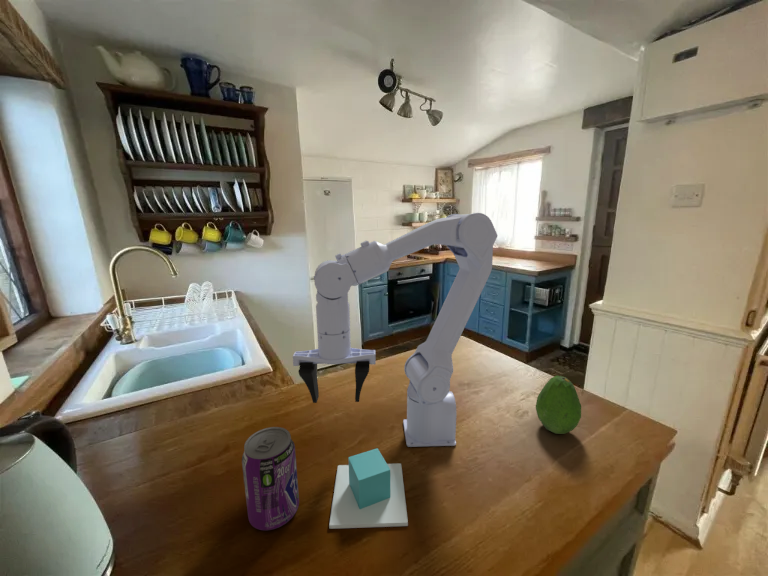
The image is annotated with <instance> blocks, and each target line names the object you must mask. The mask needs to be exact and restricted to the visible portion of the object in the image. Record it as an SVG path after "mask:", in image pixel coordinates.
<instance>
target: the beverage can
mask: <svg viewBox="0 0 768 576" xmlns="http://www.w3.org/2000/svg"><path fill="white" fill-rule="evenodd" d="M291 436H292V435H291V432H290V431H289V430H287V429H286V428H285V427H280V426H270V427H266V428H263V429H259V430H258V431H256V432H254V433H253V434H251V435H250V436H249V437H248V438H247V439H246V441H245V442H244V447H243V449H244V451H243V454H242V456H241V457H242V458H241V464H242V465H241V466H242V473H243V484H244V493H245V500H246V501H245V502H246V507H247V508H246V509H247V517H248V518H247V519H248V521H249V524H250V525H251V526H252V528H255V529H257V530H260V531H272V530H275V529H278V528H280V527H282V526H284V525H286V524H287V523H288V522H289V521H290V520H291V519H292V518H293V517H294V516H295V514H296V513H297V511H298V509H299V507H300V506H299V505H300V494H299V483H298V471H297V470H298V468H297V458H296V445H295V443H294V441H293V440H292V437H291Z"/></svg>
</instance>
